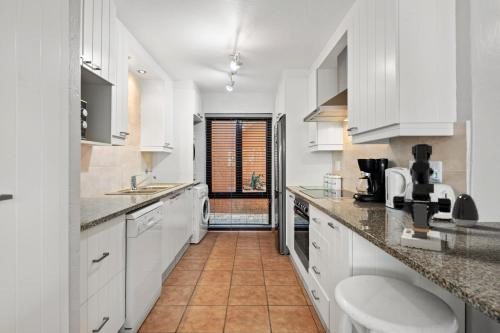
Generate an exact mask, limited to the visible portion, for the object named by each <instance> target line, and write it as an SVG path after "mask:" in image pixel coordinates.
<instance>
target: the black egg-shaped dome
mask: <svg viewBox="0 0 500 333" xmlns="http://www.w3.org/2000/svg"><path fill="white" fill-rule="evenodd" d="M479 215H480V214H479V211H478V207H477V205H476V201H475V200H474V199H473V197H472V196H471V195H470V194H468V193H460V194H459V195H458V196H457V197H456V199H455V201H454V203H453V207H452V208H451V218H452V221H453V223H454V224H456V225H457V226H460V227H466V228H469V227H470V228H471V227H474V226H476V225H477V224H478V221H479V220H480V216H479Z"/></svg>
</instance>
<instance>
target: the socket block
mask: <svg viewBox="0 0 500 333" xmlns="http://www.w3.org/2000/svg"><path fill="white" fill-rule="evenodd" d="M400 238H401V239H400V240H401V241H400V242H401V245H402V246H401V245H400V246H401V247H405V246H408V247H407V248H413V247H415V248H414V249H420V248H422V250H428V249H429V251H434V252H436V251H437V252H441V251H442V241H441V234H440V231H434V230H429V232H427V239H419V238H414V231H412V228H408V227H407V228H406V227H405V228H404V229H403V231H402V235H401V236H400Z"/></svg>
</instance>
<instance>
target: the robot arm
mask: <svg viewBox="0 0 500 333" xmlns="http://www.w3.org/2000/svg"><path fill="white" fill-rule="evenodd" d="M432 155H433V146H432V145H430V144H427V143H417V144H415V145H413V146H412V147H411V156H413V161H414V162H413V163H412V165H411V167H410V169H409V175H410V176H411V178H412V190H411V198H405V196H404V195H401V196H400V195H394V196H393V197H392V204H393V206H392V207H393V209H394V210H401V211H402V210H403V211H404V212H407V214H408V215H409V216H410V219H411V222H412V226H413V225H414V203H415V204H427V227H429V228H434V226H433V225H431V224H430V223H431V220H432V218H433V217H434V216H435V215H436V214H439V212H440V213H442V214H443V213H444V214H449V213H452V200H451V199H450V198H446V197H444V198H443V197H437V201H432V196H430V195H431V194H435V183H430V178H431V177H432V176H433V174H434V173H435V171H434V169H433V168H432V167H431V165H430V160H431V156H432Z"/></svg>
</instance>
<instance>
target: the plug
mask: <svg viewBox="0 0 500 333" xmlns="http://www.w3.org/2000/svg"><path fill="white" fill-rule="evenodd" d="M413 223H414V225H413V224H412V228H411V229H412V231H414V238H419V239H427V232H429V231H430V227H427V204H415V203H414V222H413Z"/></svg>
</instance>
